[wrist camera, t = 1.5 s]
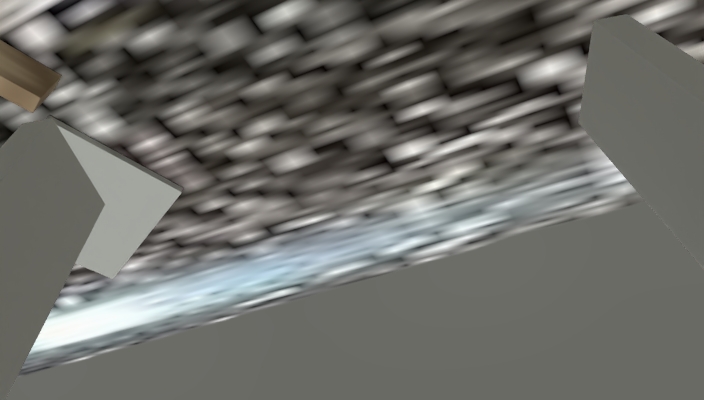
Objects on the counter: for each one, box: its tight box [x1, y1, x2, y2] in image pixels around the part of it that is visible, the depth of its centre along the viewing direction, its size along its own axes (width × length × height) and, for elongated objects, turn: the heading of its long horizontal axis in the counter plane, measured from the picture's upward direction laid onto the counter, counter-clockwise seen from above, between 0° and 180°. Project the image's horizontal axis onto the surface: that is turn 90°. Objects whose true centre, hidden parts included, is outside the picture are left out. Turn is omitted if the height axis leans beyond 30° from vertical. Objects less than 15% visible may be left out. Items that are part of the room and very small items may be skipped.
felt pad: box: [46, 115, 183, 279], centre depth 42 cm, size 11×13×1 cm
